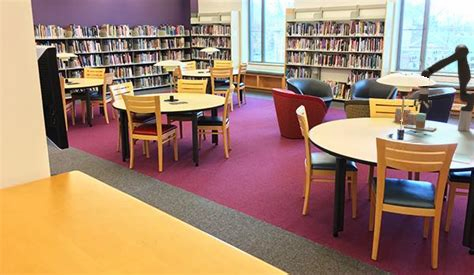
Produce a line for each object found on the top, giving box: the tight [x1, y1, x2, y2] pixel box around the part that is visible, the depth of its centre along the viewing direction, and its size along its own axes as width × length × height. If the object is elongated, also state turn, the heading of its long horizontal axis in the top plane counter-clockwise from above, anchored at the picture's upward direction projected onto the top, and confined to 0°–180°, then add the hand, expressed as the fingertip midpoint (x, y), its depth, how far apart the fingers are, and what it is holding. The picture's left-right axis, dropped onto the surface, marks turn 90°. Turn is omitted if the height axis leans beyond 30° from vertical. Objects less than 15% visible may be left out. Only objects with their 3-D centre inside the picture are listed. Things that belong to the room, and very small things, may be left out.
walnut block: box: [415, 121, 426, 128], centre depth 361 cm, size 6×6×6 cm
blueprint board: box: [403, 123, 437, 133], centre depth 362 cm, size 12×24×2 cm, turn 52°
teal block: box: [416, 112, 427, 122], centre depth 360 cm, size 6×6×6 cm
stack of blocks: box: [394, 107, 418, 125], centre depth 389 cm, size 21×6×12 cm, turn 29°
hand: (421, 111), depth 359 cm, fingers open, 8 cm apart
